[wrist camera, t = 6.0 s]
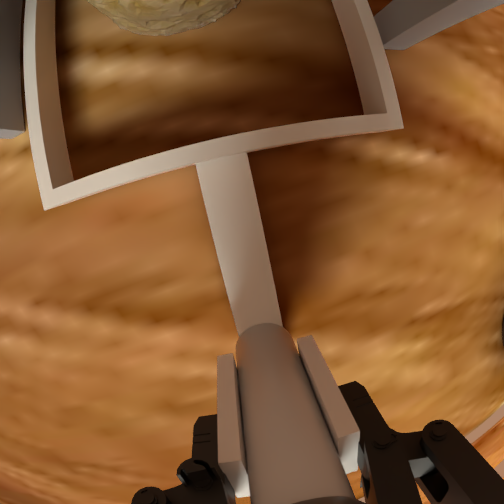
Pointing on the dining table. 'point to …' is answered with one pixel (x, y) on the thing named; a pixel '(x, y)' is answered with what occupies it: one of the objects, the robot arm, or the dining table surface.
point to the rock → (163, 14)
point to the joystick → (234, 248)
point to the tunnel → (387, 20)
